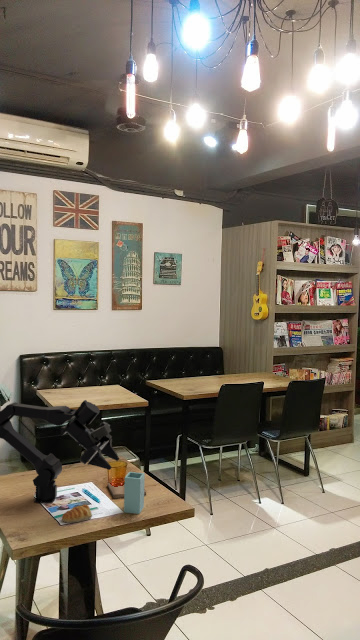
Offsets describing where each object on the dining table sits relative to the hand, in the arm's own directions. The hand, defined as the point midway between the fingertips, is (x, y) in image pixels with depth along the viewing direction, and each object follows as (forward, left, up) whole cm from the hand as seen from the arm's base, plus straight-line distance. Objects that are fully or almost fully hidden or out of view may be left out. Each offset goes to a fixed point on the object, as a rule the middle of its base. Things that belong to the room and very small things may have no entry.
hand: (114, 464), depth 169 cm
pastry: (-11, -9, -15) cm, 21 cm away
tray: (+3, +14, -15) cm, 20 cm away
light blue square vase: (+7, -2, -15) cm, 17 cm away
